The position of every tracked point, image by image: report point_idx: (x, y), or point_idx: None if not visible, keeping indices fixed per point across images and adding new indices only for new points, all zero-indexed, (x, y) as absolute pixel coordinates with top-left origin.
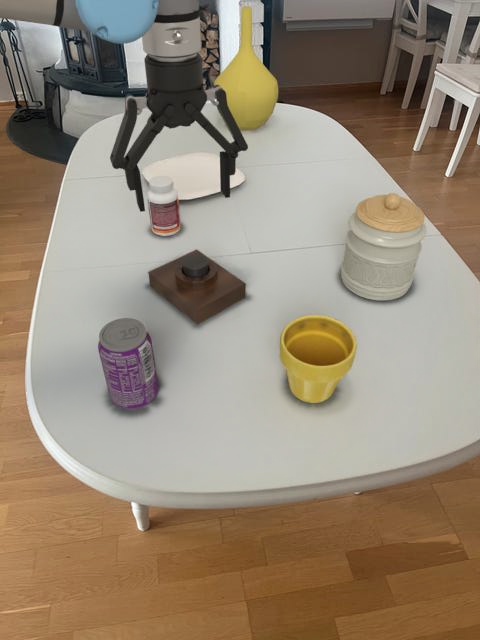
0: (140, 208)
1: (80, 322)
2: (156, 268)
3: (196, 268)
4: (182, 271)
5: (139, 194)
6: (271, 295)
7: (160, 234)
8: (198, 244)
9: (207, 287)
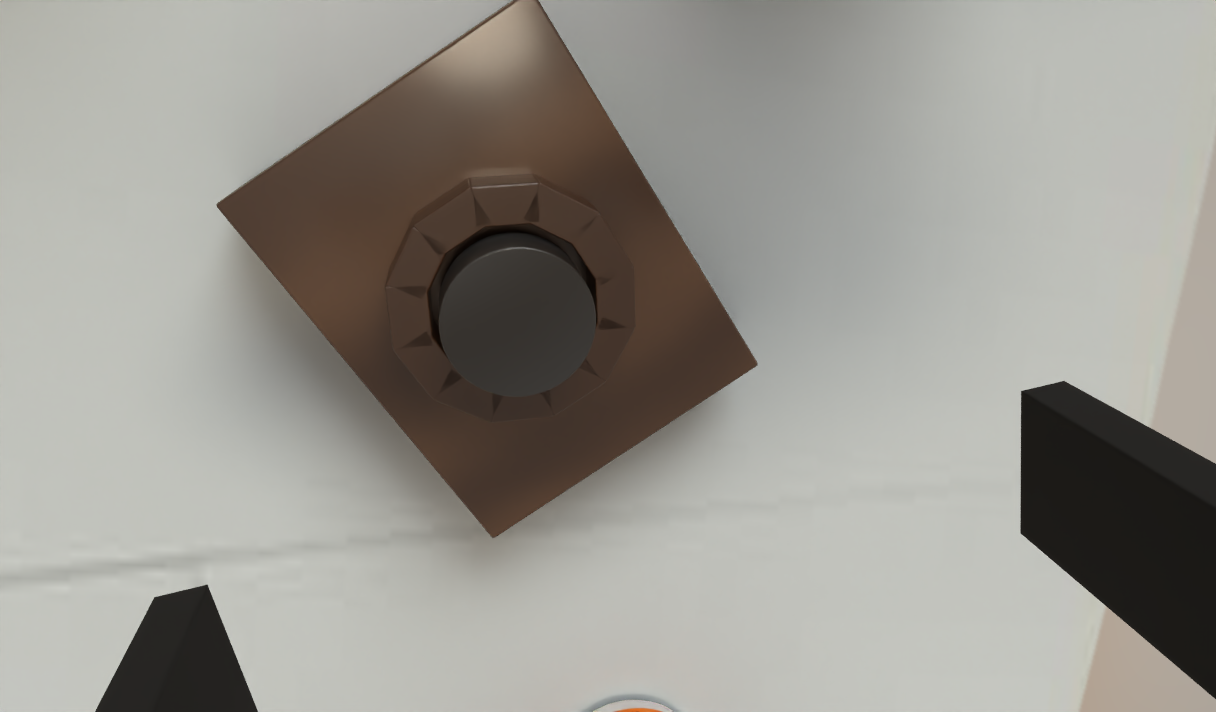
0: (1081, 395)
1: (1051, 106)
2: (714, 390)
3: (515, 254)
4: None
5: (1190, 464)
6: (81, 189)
7: (656, 704)
8: (475, 638)
9: (451, 189)
